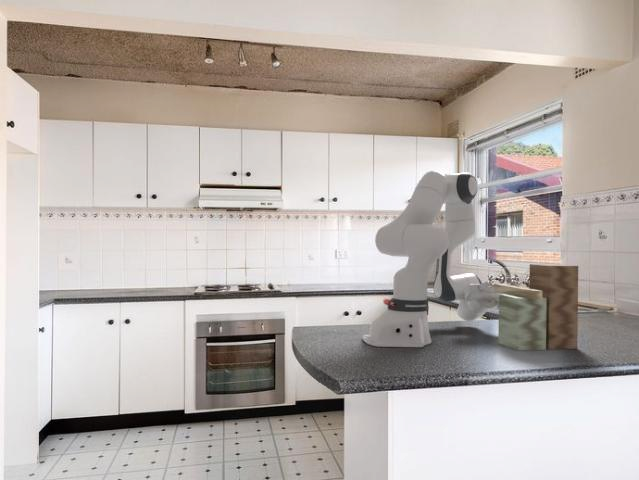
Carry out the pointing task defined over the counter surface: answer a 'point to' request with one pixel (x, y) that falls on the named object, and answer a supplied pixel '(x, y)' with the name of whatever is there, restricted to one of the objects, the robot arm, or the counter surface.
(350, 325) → the counter surface
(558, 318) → the stand
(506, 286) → the batten
